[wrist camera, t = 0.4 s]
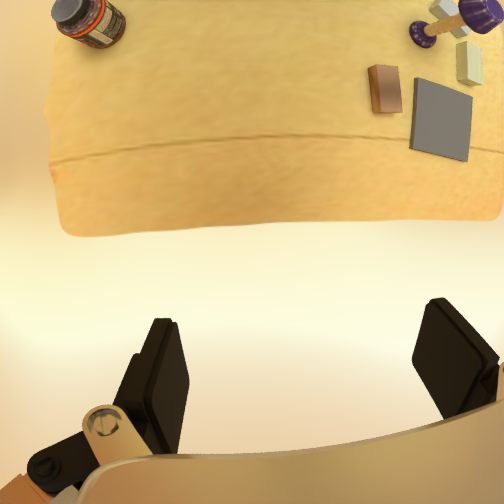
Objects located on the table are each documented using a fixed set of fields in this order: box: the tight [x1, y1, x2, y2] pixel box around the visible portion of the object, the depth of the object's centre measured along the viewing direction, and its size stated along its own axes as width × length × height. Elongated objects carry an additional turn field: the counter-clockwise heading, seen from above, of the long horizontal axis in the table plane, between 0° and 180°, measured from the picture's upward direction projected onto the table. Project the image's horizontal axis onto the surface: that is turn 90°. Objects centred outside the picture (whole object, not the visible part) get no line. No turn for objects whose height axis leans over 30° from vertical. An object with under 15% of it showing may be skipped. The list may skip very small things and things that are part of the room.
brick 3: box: [456, 41, 482, 86], centre depth 31 cm, size 6×3×3 cm, turn 177°
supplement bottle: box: [51, 0, 125, 48], centre depth 25 cm, size 6×6×11 cm
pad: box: [410, 78, 473, 162], centre depth 35 cm, size 10×10×1 cm
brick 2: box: [429, 0, 471, 38], centre depth 28 cm, size 6×3×3 cm, turn 55°
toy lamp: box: [410, 0, 504, 48], centre depth 23 cm, size 5×5×17 cm
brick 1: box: [368, 65, 403, 113], centre depth 33 cm, size 6×3×3 cm, turn 6°
